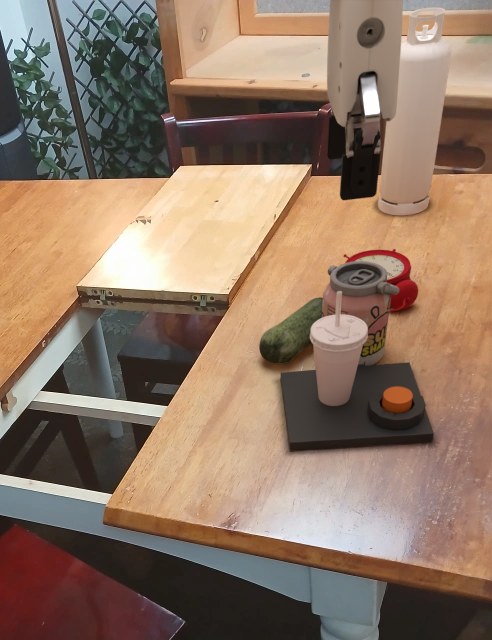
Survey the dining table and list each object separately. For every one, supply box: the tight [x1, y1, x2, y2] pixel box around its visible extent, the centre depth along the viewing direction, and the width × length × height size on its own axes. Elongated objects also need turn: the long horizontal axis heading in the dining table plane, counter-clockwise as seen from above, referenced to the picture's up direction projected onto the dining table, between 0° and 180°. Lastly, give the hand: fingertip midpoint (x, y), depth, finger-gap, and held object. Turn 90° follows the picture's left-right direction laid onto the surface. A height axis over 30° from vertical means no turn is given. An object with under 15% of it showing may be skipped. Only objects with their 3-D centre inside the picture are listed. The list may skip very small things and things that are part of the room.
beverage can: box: [322, 261, 399, 366], centre depth 93 cm, size 9×8×12 cm
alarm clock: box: [343, 248, 419, 313], centre depth 105 cm, size 10×6×15 cm
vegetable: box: [258, 296, 323, 365], centre depth 99 cm, size 14×5×5 cm, turn 133°
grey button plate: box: [279, 361, 435, 452], centre depth 89 cm, size 16×14×3 cm
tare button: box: [382, 386, 413, 413], centre depth 85 cm, size 3×3×2 cm
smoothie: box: [310, 291, 368, 406], centre depth 85 cm, size 6×6×14 cm
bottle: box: [377, 7, 453, 216], centre depth 115 cm, size 8×8×28 cm
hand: (350, 176), depth 71 cm, fingers open, 9 cm apart
